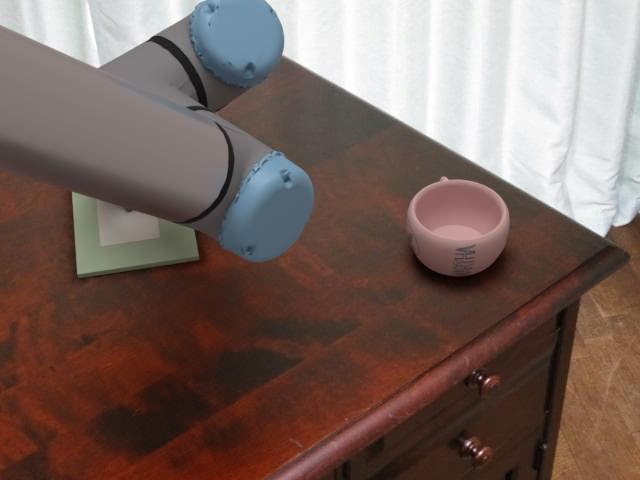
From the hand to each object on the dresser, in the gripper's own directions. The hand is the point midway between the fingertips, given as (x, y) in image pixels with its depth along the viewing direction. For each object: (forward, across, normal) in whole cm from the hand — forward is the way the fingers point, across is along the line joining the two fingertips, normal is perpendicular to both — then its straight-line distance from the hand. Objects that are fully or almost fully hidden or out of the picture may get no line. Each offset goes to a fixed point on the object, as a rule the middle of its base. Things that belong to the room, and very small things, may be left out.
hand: (106, 149), depth 122 cm
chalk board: (0, -1, -6) cm, 6 cm away
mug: (-20, +20, -26) cm, 38 cm away
